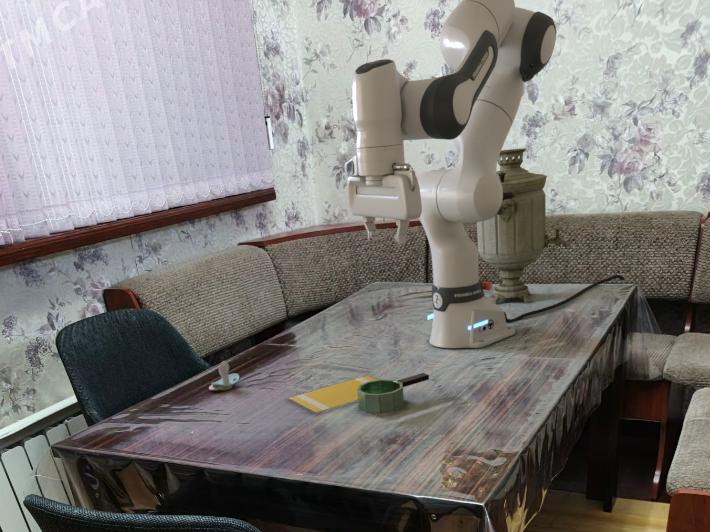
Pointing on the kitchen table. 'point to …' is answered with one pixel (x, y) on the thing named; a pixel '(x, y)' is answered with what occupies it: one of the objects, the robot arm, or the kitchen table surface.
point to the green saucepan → (385, 394)
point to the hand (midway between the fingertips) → (386, 242)
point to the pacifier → (224, 378)
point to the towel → (332, 395)
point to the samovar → (516, 226)
